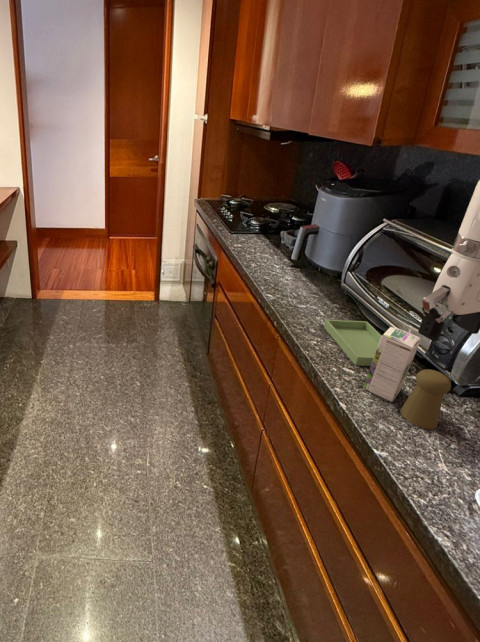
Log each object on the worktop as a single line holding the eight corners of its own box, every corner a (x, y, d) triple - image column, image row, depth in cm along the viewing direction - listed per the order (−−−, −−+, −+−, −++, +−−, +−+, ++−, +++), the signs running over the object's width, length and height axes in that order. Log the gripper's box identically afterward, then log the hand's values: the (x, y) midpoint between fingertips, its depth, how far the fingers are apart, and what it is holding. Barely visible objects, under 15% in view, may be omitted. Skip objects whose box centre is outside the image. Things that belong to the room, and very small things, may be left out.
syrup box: (371, 378, 90) (388, 325, 85) (401, 391, 86) (422, 336, 81) (362, 388, 87) (380, 334, 82) (393, 403, 83) (414, 347, 77)
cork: (428, 410, 81) (446, 367, 77) (443, 432, 76) (463, 387, 72) (395, 404, 83) (410, 362, 78) (407, 425, 77) (425, 382, 73)
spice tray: (403, 368, 94) (406, 359, 93) (355, 365, 95) (357, 357, 94) (364, 328, 110) (367, 321, 109) (323, 327, 110) (325, 319, 110)
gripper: (469, 261, 60) (432, 352, 67) (547, 251, 64) (504, 338, 71) (421, 245, 67) (392, 328, 74) (494, 237, 71) (460, 317, 77)
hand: (447, 333), depth 72 cm, fingers open, 9 cm apart
